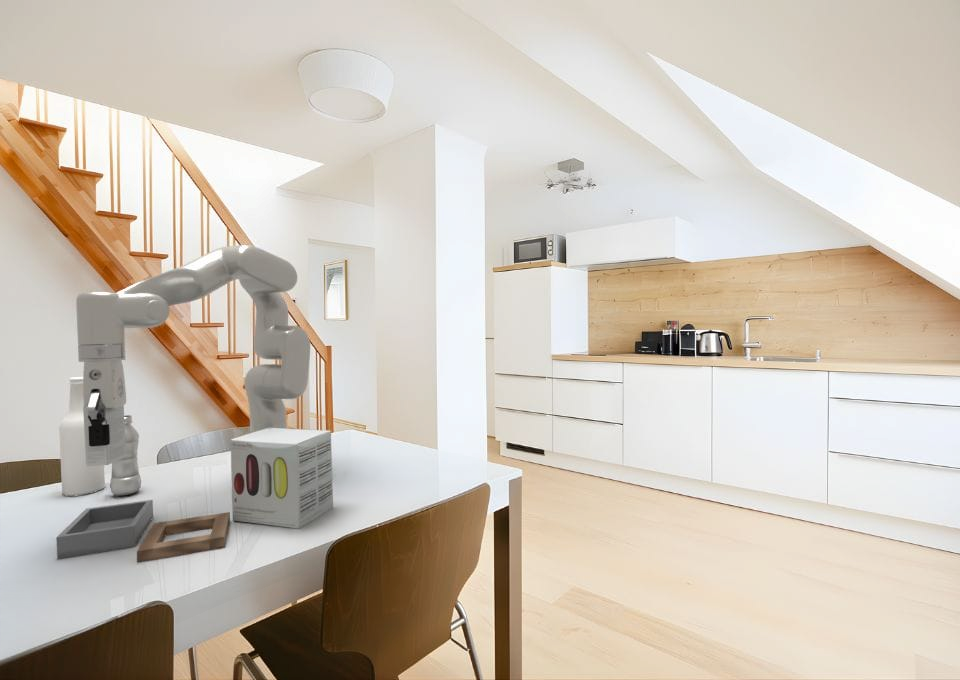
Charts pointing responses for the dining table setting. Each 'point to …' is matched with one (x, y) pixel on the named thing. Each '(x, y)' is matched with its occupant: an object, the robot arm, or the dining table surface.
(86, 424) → the skincare box
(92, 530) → the tray
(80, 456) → the alcohol
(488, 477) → the dining table surface
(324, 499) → the supplement box
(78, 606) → the dining table surface
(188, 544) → the brown square frame
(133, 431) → the plastic bottle
